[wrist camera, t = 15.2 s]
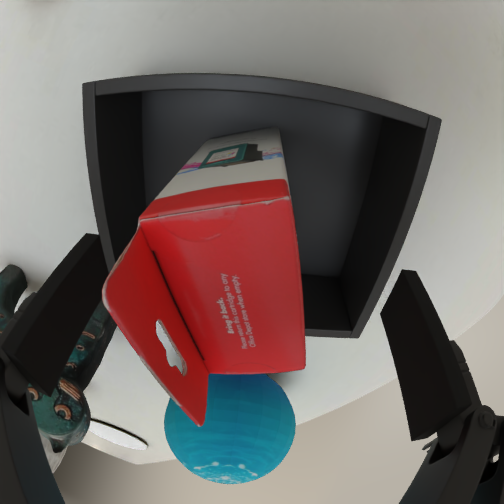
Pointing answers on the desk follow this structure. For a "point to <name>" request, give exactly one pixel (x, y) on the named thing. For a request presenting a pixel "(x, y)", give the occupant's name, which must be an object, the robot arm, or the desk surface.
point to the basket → (297, 166)
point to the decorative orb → (234, 429)
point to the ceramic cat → (73, 376)
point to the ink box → (215, 271)
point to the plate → (116, 435)
